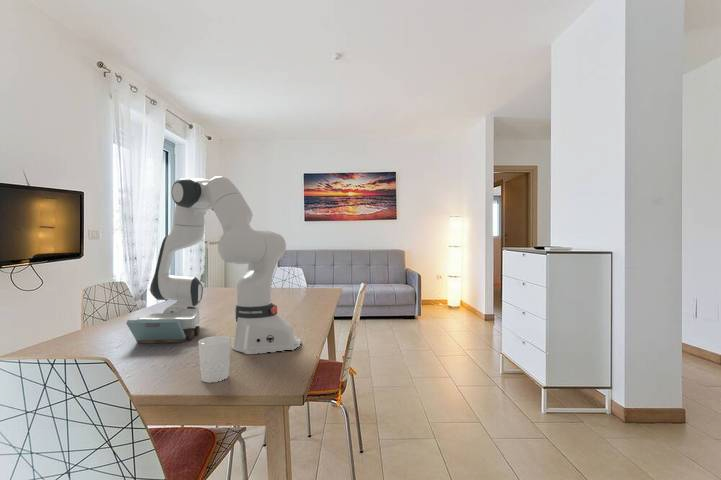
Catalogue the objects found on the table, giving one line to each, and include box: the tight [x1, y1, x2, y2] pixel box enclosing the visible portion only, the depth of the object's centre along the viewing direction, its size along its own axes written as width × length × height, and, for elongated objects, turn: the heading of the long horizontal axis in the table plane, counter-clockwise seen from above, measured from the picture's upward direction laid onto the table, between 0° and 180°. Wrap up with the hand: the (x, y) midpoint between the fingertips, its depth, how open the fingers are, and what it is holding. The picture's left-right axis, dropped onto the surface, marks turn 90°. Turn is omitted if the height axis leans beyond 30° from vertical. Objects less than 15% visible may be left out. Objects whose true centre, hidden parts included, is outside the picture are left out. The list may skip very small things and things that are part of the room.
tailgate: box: [125, 319, 186, 342], centre depth 126 cm, size 16×2×10 cm
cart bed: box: [136, 325, 201, 344], centre depth 136 cm, size 18×12×3 cm, turn 96°
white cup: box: [197, 335, 232, 384], centre depth 97 cm, size 8×8×10 cm
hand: (158, 328), depth 127 cm, fingers closed, pressing on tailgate
